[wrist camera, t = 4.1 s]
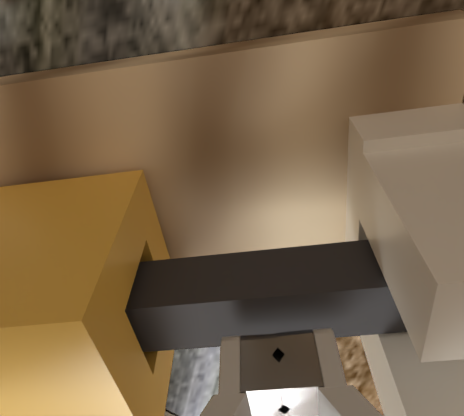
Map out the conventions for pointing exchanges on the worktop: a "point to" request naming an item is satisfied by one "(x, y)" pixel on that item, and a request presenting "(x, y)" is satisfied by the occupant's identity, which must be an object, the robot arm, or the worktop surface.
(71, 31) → the worktop surface
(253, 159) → the board
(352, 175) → the white bar support
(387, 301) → the dark gray bar
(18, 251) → the sleeve
